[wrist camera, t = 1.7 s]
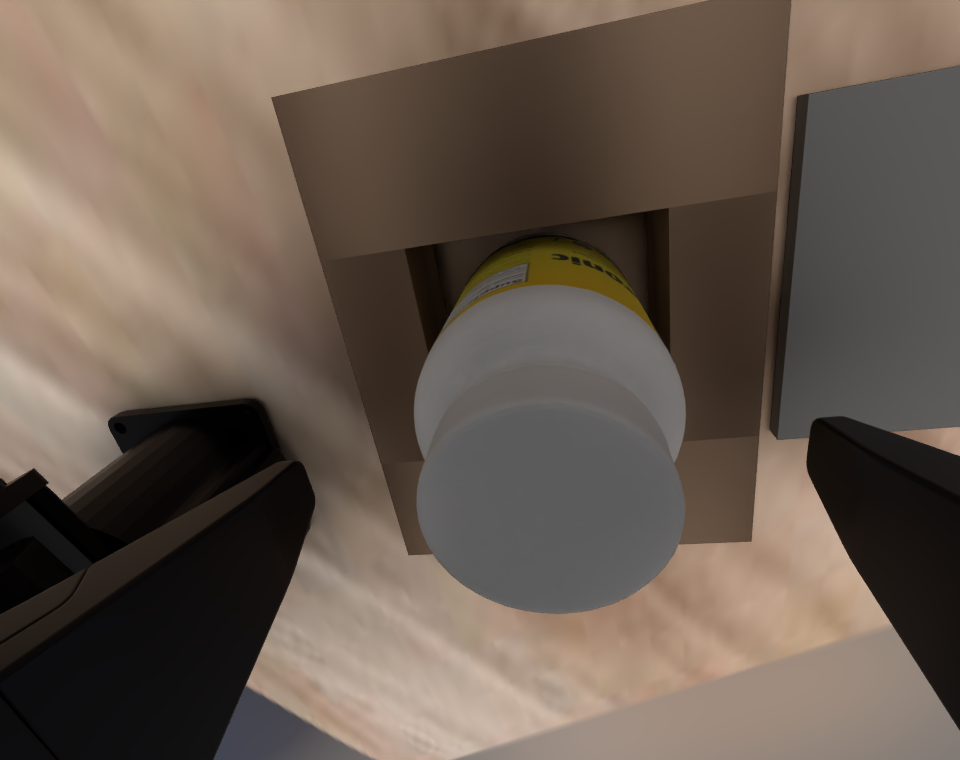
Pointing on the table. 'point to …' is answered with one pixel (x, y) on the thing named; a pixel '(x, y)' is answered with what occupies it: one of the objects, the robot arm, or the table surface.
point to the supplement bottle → (550, 433)
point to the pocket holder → (563, 210)
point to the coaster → (873, 259)
